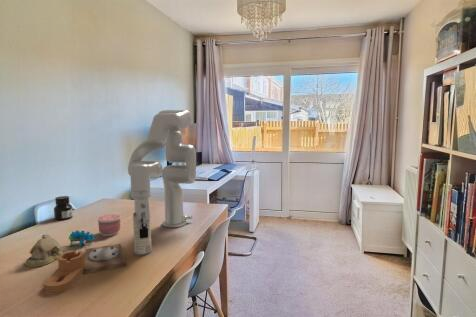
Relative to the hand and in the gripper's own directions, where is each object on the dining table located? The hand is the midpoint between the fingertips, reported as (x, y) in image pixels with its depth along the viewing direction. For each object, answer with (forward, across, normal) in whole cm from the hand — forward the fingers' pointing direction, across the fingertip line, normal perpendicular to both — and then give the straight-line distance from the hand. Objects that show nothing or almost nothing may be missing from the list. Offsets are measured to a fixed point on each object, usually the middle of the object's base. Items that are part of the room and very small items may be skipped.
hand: (142, 234), depth 131 cm
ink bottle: (+8, +67, +33) cm, 75 cm away
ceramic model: (+8, +10, +36) cm, 38 cm away
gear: (+8, +21, +23) cm, 32 cm away
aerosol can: (+8, 0, 0) cm, 8 cm away
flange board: (+8, 0, +15) cm, 17 cm away
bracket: (+9, -12, +28) cm, 31 cm away
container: (+8, +30, +11) cm, 33 cm away
